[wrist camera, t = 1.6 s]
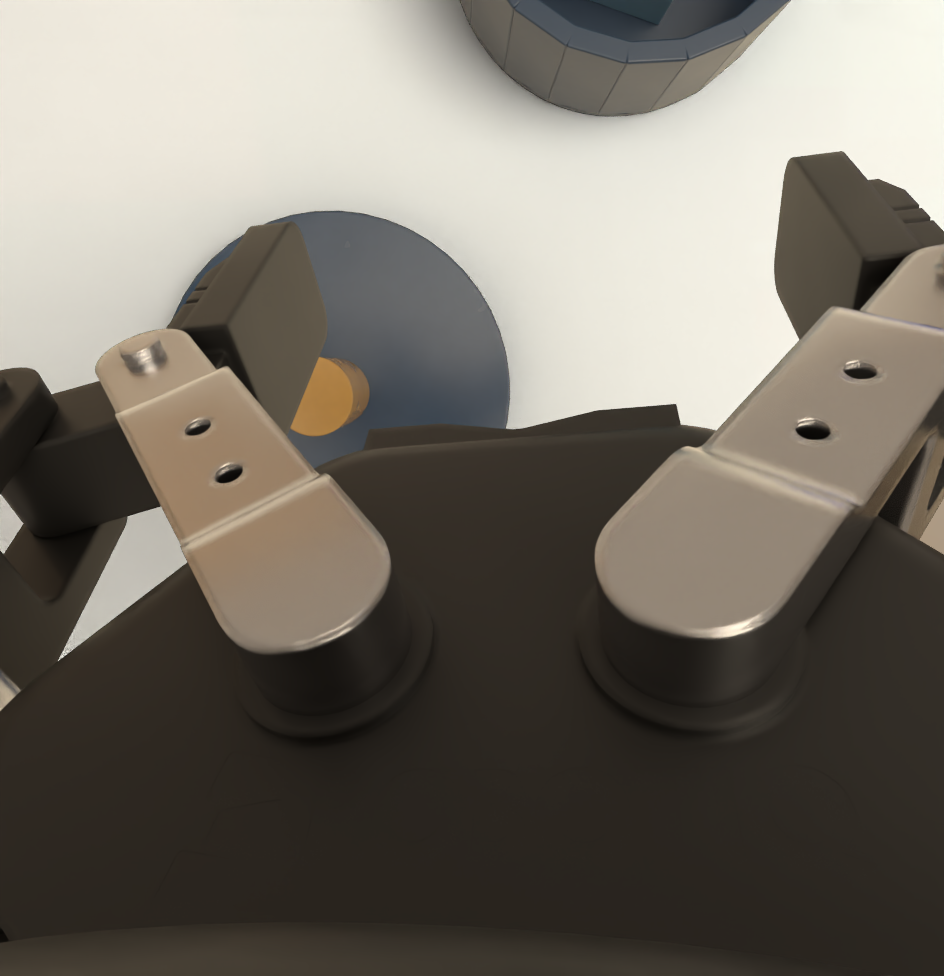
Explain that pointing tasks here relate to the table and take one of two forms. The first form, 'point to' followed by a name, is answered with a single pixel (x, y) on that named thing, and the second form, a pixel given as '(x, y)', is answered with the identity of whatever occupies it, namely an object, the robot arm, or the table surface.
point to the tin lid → (391, 337)
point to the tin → (616, 48)
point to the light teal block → (639, 8)
